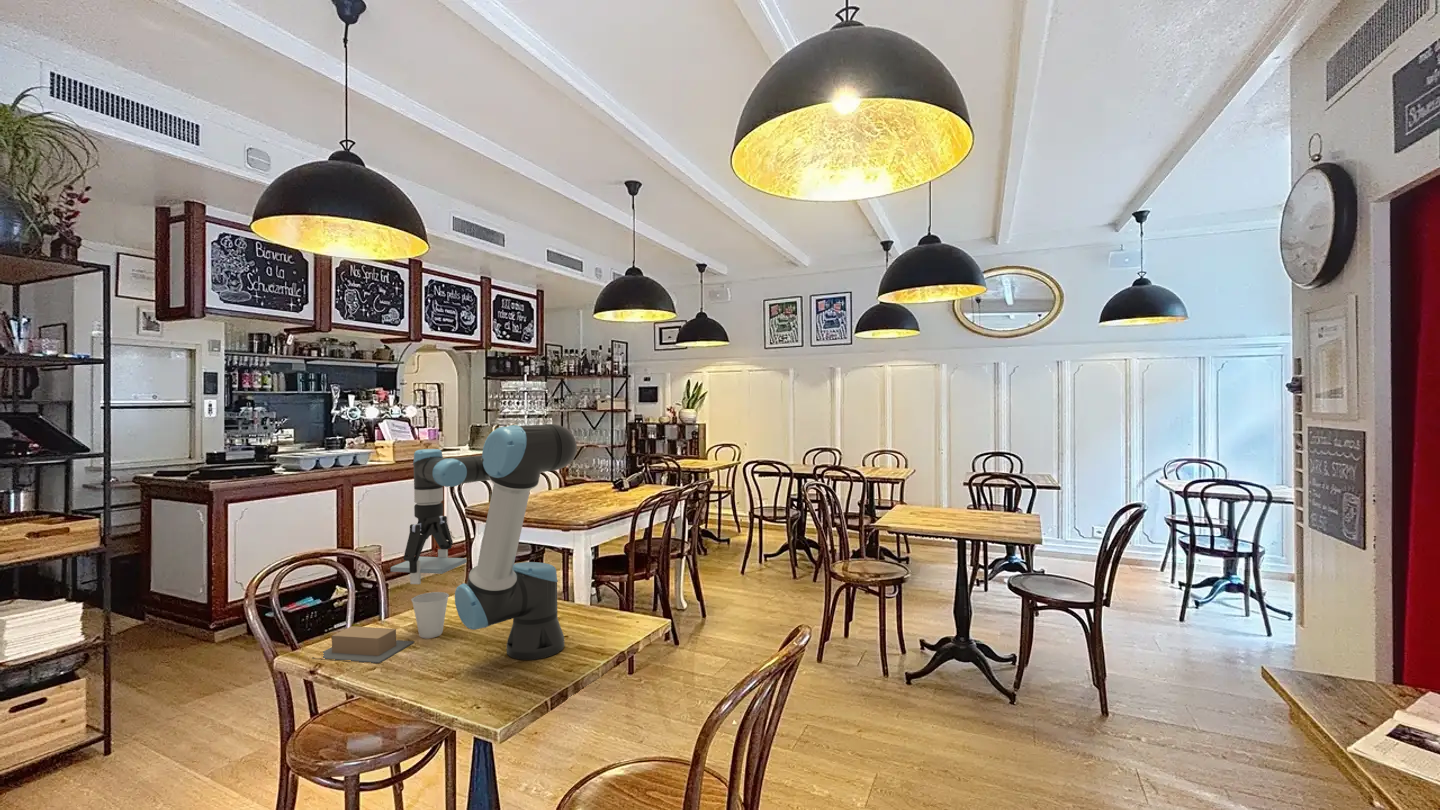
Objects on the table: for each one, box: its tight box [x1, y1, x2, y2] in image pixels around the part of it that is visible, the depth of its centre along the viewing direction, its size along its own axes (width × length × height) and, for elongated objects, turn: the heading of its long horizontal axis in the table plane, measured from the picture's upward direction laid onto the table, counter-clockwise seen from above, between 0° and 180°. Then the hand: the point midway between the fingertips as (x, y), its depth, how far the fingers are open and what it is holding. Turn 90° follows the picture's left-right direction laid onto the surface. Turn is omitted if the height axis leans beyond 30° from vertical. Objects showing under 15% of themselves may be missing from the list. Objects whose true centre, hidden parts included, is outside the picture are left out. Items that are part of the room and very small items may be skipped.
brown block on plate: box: [322, 625, 415, 664], centre depth 172 cm, size 20×14×5 cm
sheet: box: [390, 555, 468, 575], centre depth 183 cm, size 16×12×1 cm
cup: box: [410, 591, 450, 639], centre depth 183 cm, size 10×10×11 cm
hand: (429, 577), depth 183 cm, fingers closed on sheet, 12 cm apart
